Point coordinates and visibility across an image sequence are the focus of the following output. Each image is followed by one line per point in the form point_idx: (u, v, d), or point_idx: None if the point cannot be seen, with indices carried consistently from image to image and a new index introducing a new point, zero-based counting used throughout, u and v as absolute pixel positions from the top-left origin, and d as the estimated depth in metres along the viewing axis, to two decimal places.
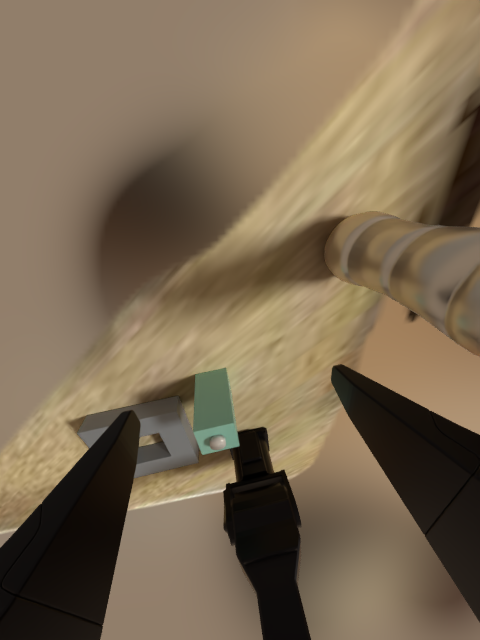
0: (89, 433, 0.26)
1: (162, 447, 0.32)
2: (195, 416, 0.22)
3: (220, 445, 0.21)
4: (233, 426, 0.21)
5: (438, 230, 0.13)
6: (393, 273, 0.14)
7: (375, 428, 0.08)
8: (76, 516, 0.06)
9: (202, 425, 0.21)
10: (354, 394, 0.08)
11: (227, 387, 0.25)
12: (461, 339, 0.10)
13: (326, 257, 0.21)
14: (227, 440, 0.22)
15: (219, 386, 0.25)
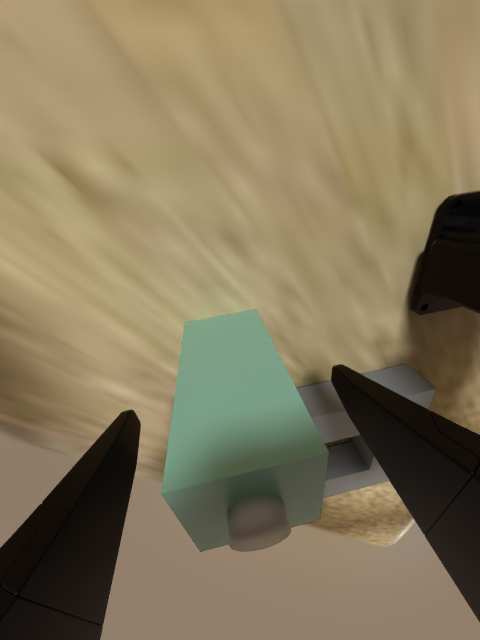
0: None
1: None
2: None
3: (266, 532, 0.05)
4: (186, 491, 0.05)
5: None
6: None
7: (375, 428, 0.08)
8: (76, 516, 0.06)
9: None
10: (354, 394, 0.08)
11: None
12: None
13: None
14: (269, 489, 0.06)
15: None
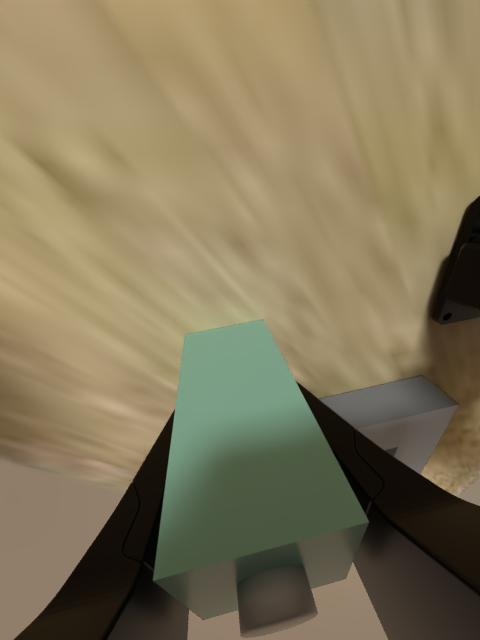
0: None
1: None
2: None
3: (287, 620, 0.04)
4: (185, 574, 0.04)
5: None
6: None
7: None
8: None
9: None
10: None
11: None
12: None
13: None
14: (290, 561, 0.04)
15: None
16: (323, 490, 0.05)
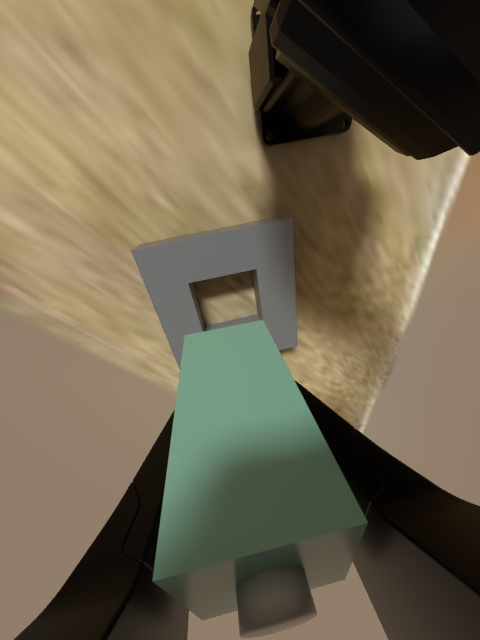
0: None
1: (254, 280, 0.20)
2: None
3: (286, 620, 0.04)
4: (184, 575, 0.04)
5: None
6: None
7: None
8: None
9: None
10: None
11: None
12: None
13: None
14: (290, 562, 0.04)
15: None
16: (322, 491, 0.05)
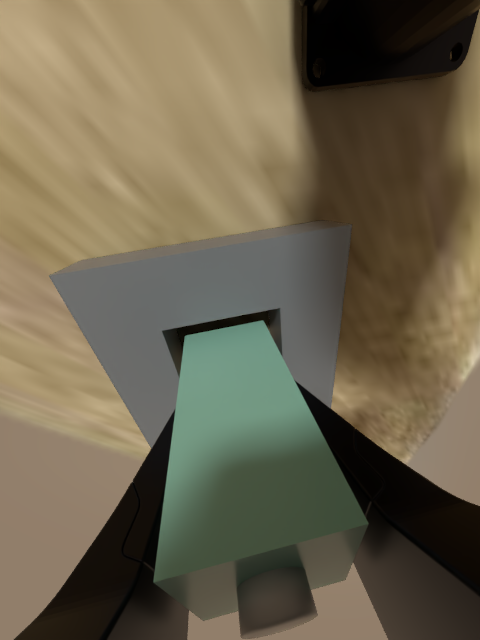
0: (155, 440, 0.13)
1: (272, 319, 0.12)
2: None
3: (287, 622, 0.04)
4: (185, 576, 0.04)
5: None
6: None
7: None
8: None
9: None
10: None
11: None
12: None
13: None
14: (290, 562, 0.04)
15: None
16: (323, 492, 0.05)
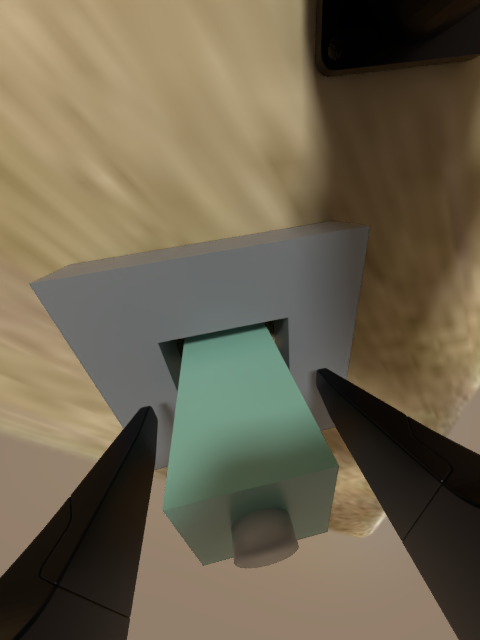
0: None
1: (278, 328, 0.11)
2: None
3: (273, 550, 0.05)
4: (188, 507, 0.05)
5: None
6: None
7: (355, 433, 0.08)
8: (105, 509, 0.06)
9: None
10: (335, 398, 0.08)
11: None
12: None
13: None
14: (276, 503, 0.05)
15: None
16: (303, 444, 0.05)
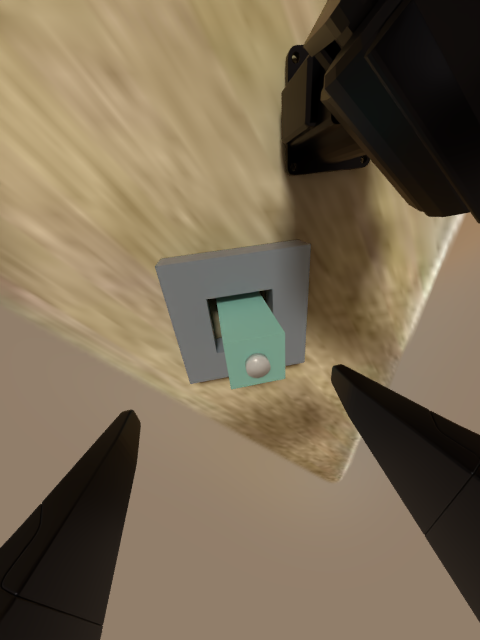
0: (192, 373, 0.21)
1: (267, 298, 0.20)
2: None
3: (260, 365, 0.14)
4: (231, 344, 0.13)
5: None
6: None
7: (375, 428, 0.08)
8: (76, 516, 0.06)
9: None
10: (354, 394, 0.08)
11: (218, 312, 0.17)
12: None
13: None
14: (262, 350, 0.14)
15: None
16: (273, 329, 0.14)
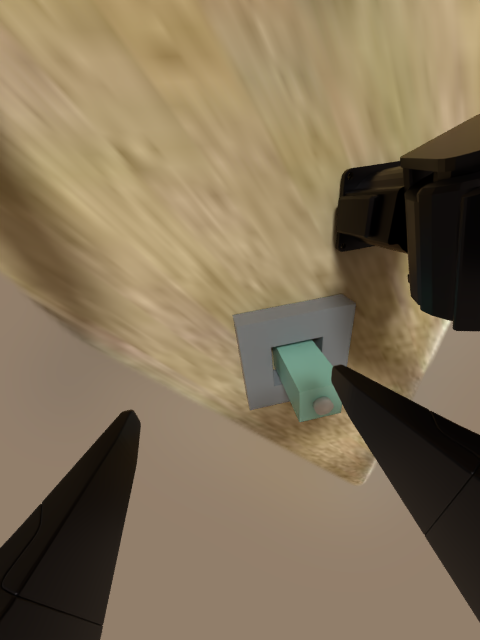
0: (252, 402, 0.26)
1: (315, 340, 0.25)
2: (292, 405, 0.21)
3: (326, 406, 0.18)
4: (305, 391, 0.18)
5: None
6: None
7: (375, 428, 0.08)
8: (76, 516, 0.06)
9: (297, 411, 0.20)
10: (354, 394, 0.08)
11: (281, 358, 0.22)
12: None
13: None
14: (327, 394, 0.18)
15: (280, 362, 0.23)
16: None
